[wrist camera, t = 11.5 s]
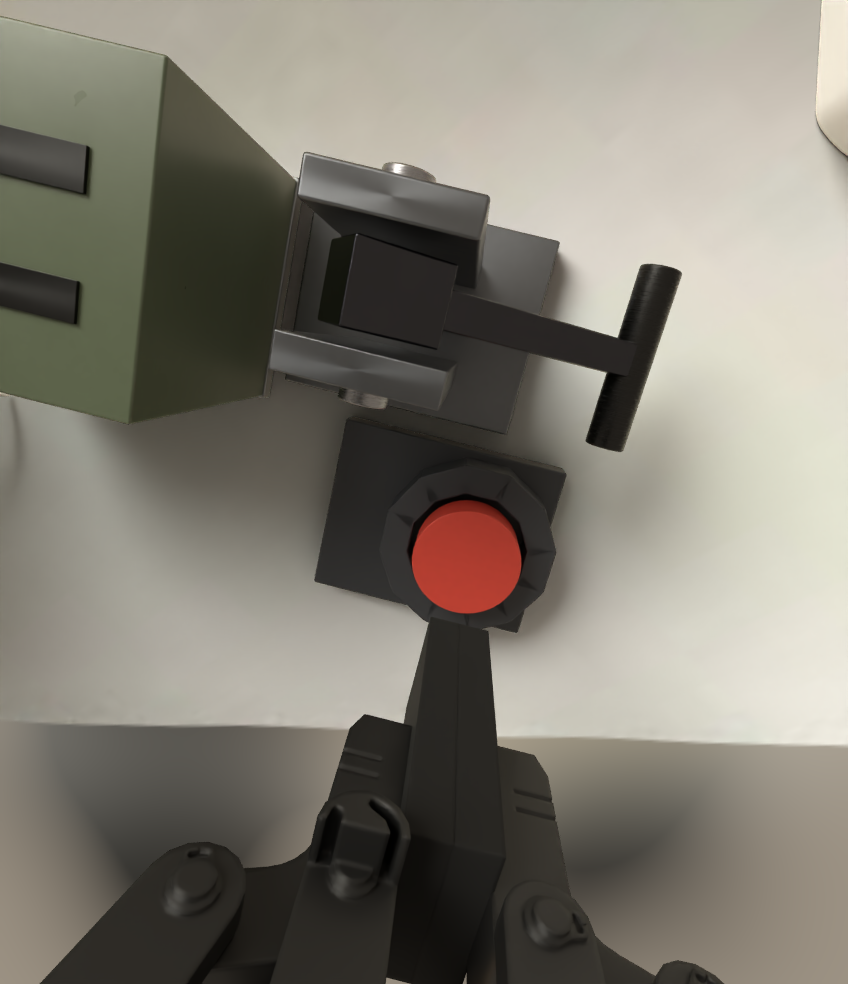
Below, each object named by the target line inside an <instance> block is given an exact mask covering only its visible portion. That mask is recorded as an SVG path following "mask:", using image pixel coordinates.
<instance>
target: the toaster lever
mask: <svg viewBox="0 0 848 984" xmlns="http://www.w3.org/2000/svg"><path fill="white" fill-rule="evenodd" d="M457 270H458V265H457V264H455V263H452V262H449V261H446V260H442V259H439V258H436V257H433V256H430V255H427V254H424V253H421V252H417V251H414V250H411V249H408V248H405V247H402V246H399V245H395V244H392V243H389V242H386V241H383V240H380V239H377V238H373V237H370V236H367V235H364V234H361V233H354V234H350V235H346V236H341V237H337V238H333V239H332V240H331V245H330V251H329V256H328V262H327V267H326V273H325V278H324V284H323V290H322V295H321V301H320V306H319V312H318V320H319V321H321V322H324V323H328V324H331V325H334V326H338V327H341V328H345V329H349V330H354V331H358V332H362V333H366V334H370V335H375V336H379V337H383V338H387V339H391V340H396V341H400V342H404V343H408V344H412V345H417V346H421V347H425V348H429V349H434V350H438V349H439V346H440V342H441V338H442V333H443V331H445V332H449V333H453V334H457V335H461V336H464V337H468V338H472V339H476V340H480V341H484V342H488V343H492V344H496V345H500V346H504V347H507V348H511V349H515V350H519V351H523V352H527V353H531V354H535V355H539V356H543V357H547V358H550V359H554V360H558V361H562V362H566V363H570V364H574V365H578V366H582V367H586V368H590V369H593V370H597V371H601V372H605V373H606V377H605V380H604V383H603V386H602V389H601V393H600V396H599V399H598V402H597V405H596V408H595V412H594V415H593V418H592V421H591V424H590V428H589V431H588V434H587V437H586V442H587V443H589V444H591V445H594V446H597V447H600V448H603V449H607V450H611V451H617V452H622V451H623V450H624V447H625V444H626V441H627V438H628V435H629V432H630V429H631V426H632V423H633V420H634V417H635V414H636V411H637V408H638V405H639V402H640V399H641V396H642V393H643V390H644V387H645V384H646V381H647V378H648V375H649V372H650V369H651V366H652V363H653V360H654V357H655V354H656V351H657V348H658V345H659V342H660V339H661V336H662V333H663V330H664V327H665V324H666V321H667V318H668V315H669V312H670V309H671V306H672V303H673V300H674V297H675V294H676V291H677V288H678V285H679V282H680V279H681V276H682V273H681V272H680V271H679V270H677V269H675V268H672V267H668V266H663V265H657V264H643V265H641V266H640V269H639V272H638V275H637V278H636V281H635V284H634V288H633V291H632V294H631V297H630V300H629V304H628V307H627V310H626V313H625V316H624V319H623V323H622V326H621V329H620V332H619V335H618V338H616V337H612V336H609V335H606V334H602V333H599V332H595V331H592V330H589V329H585V328H582V327H578V326H575V325H572V324H568V323H565V322H561V321H558V320H555V319H551V318H548V317H545V316H541V315H538V314H534V313H531V312H528V311H524V310H521V309H517V308H514V307H511V306H507V305H504V304H500V303H497V302H494V301H490V300H487V299H483V298H480V297H477V296H473V295H470V294H467V293H463V292H460V291H456V290H453V287H454V282H455V278H456V274H457Z"/></svg>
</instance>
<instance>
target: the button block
mask: <svg viewBox="0 0 848 984" xmlns="http://www.w3.org/2000/svg"><path fill="white" fill-rule="evenodd" d="M565 479H566V473H565V471H564V470H563V469H562V468H559V467H555V466H550V465H546V464H542V463H538V462H534V461H530V460H526V459H522V458H518V457H514V456H510V455H506V454H502V453H498V452H494V451H490V450H486V449H482V448H478V447H474V446H470V445H466V444H462V443H458V442H454V441H450V440H446V439H442V438H438V437H434V436H430V435H426V434H422V433H418V432H414V431H410V430H406V429H402V428H398V427H394V426H390V425H386V424H382V423H378V422H374V421H370V420H366V419H361V418H357V417H350V418H349V419H347V420H346V425H345V430H344V435H343V440H342V445H341V449H340V454H339V459H338V464H337V469H336V474H335V479H334V484H333V489H332V494H331V499H330V504H329V509H328V514H327V519H326V524H325V529H324V534H323V539H322V544H321V549H320V554H319V559H318V564H317V569H316V574H315V579H314V580H315V582H319V583H323V584H327V585H330V586H334V587H338V588H342V589H346V590H350V591H354V592H358V593H362V594H366V595H370V596H374V597H377V598H381V599H385V600H389V601H393V602H397V603H401V604H405V605H408V606H409V607H410V608H411V609H412V610H413V611H414V612H415V613H416V614H418V615H419V616H420V617H421V618H422V619H423V620H425V621H426V622H429V621H430V617H435V618H439V619H443V620H447V621H451V622H455V623H459V624H463V625H467V626H471V627H475V628H479V629H483V628H487V627H495V628H499V629H503V630H507V631H511V632H515V633H517V632H518V630H519V627H520V623H521V620H522V617H523V614H524V610H525V609H526V608H527V607H528V606H529V605H530V604H531V603H532V602H533V601H535V600H536V599H537V598H538V597H539V596H540V595H541V594H542V593H543V592H544V589H545V586H546V583H547V580H548V577H549V574H550V570H551V567H552V564H553V561H554V558H555V555H556V548H555V544H554V540H553V536H552V532H551V528H550V527H551V524H552V520H553V517H554V514H555V511H556V507H557V504H558V501H559V498H560V495H561V491H562V488H563V485H564V482H565ZM460 500H473V501H478V502H482V503H485V504H488V505H490V506H492V507H494V508H495V509H497V510H498V511H499V512H501V513H502V514H503V515H504V516H505V517H506V518H507V519H508V521H509V522H510V524H511V525H512V527H513V529H514V531H515V534H516V537H517V541H518V545H519V549H520V554H521V572H520V576H519V579H518V582H517V584H516V586H515V588H514V589H513V591H512V592H511V593H510V595H509V596H508V597H507V598H506V599H505V600H504V601H502V602H501V603H500V604H498V605H496V606H495V607H493V608H491V609H488V610H486V611H482V612H478V613H468V614H466V613H457V612H452V611H449V610H446V609H444V608H442V607H440V606H438V605H436V604H435V603H433V602H432V601H431V600H430V599H429V598H428V597H427V596H426V595H425V594H424V593H423V592H422V590H421V589H420V588H419V586H418V584H417V582H416V580H415V577H414V573H413V569H412V554H413V549H414V546H415V542H416V539H417V536H418V533H419V530H420V528H421V526H422V524H423V523H424V521H425V520H426V519H427V517H428V516H429V515H430V514H431V513H432V512H434V511H435V510H436V509H438V508H439V507H441V506H443V505H445V504H448V503H451V502H455V501H460Z"/></svg>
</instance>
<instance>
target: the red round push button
mask: <svg viewBox="0 0 848 984" xmlns="http://www.w3.org/2000/svg"><path fill="white" fill-rule="evenodd" d="M412 569H413V573H414V577H415V580H416V582H417V584H418V586H419V588H420V589H421V590H422V592H423V593H424V594H425V595H426V596H427V597H428V598H429V599H430V600H431V601H432V602H433V603H435V604H436V605H438V606H440V607H442V608H444V609H446V610H449V611H452V612H457V613H466V614H468V613H478V612H482V611H486V610H488V609H491V608H493V607H495V606H496V605H498V604H500V603H501V602H502V601H504V600H505V599H506V598H507V597H508V596H509V595H510V593H511V592H512V591H513V589H514V588H515V586H516V584H517V582H518V579H519V576H520V572H521V554H520V549H519V545H518V541H517V537H516V534H515V531H514V529H513V527H512V525H511V524H510V522H509V521H508V519H507V518H506V517H505V516H504V515H503V514H502V513H501V512H499V511H498V510H497V509H495V508H494V507H492V506H490V505H488V504H485V503H482V502H478V501H473V500H460V501H455V502H451V503H448V504H445V505H443V506H441V507H439V508H438V509H436V510H435V511H434V512H432V513H431V514H430V515H429V516H428V517H427V519H426V520H425V521H424V523H423V524H422V526H421V528H420V530H419V533H418V536H417V539H416V542H415V546H414V549H413V554H412Z"/></svg>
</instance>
